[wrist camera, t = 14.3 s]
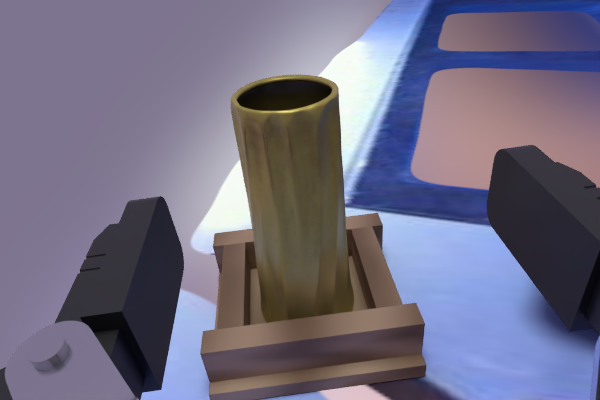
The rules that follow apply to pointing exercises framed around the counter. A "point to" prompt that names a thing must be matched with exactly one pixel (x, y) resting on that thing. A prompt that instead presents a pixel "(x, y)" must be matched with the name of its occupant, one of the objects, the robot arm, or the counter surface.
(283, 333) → the socket block
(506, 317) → the counter surface
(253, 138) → the vase
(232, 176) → the counter surface
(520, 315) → the counter surface
